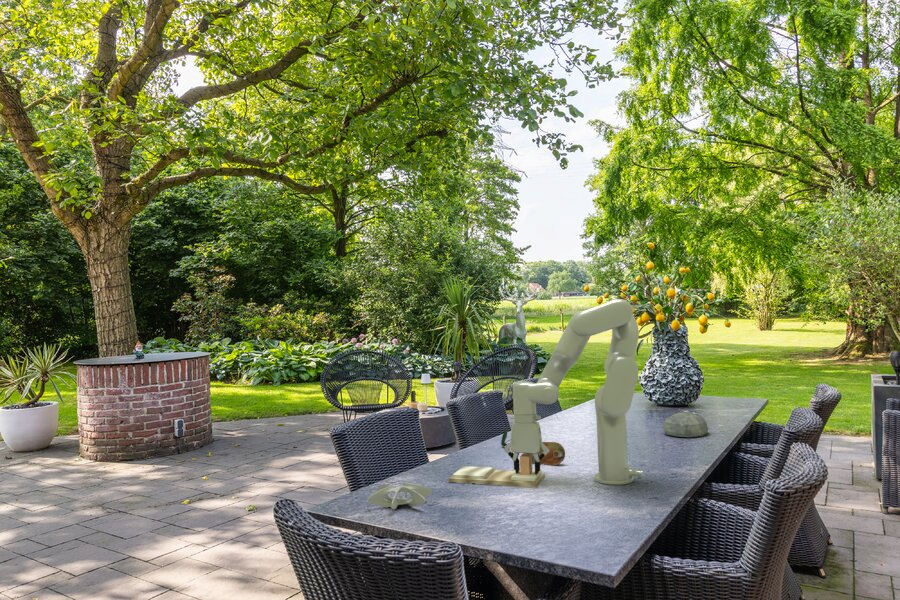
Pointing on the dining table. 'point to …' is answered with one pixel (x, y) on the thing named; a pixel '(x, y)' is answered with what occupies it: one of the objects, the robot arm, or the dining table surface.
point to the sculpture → (393, 503)
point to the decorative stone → (685, 425)
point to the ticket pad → (491, 477)
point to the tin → (551, 454)
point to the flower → (504, 438)
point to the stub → (526, 469)
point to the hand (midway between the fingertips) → (527, 472)
